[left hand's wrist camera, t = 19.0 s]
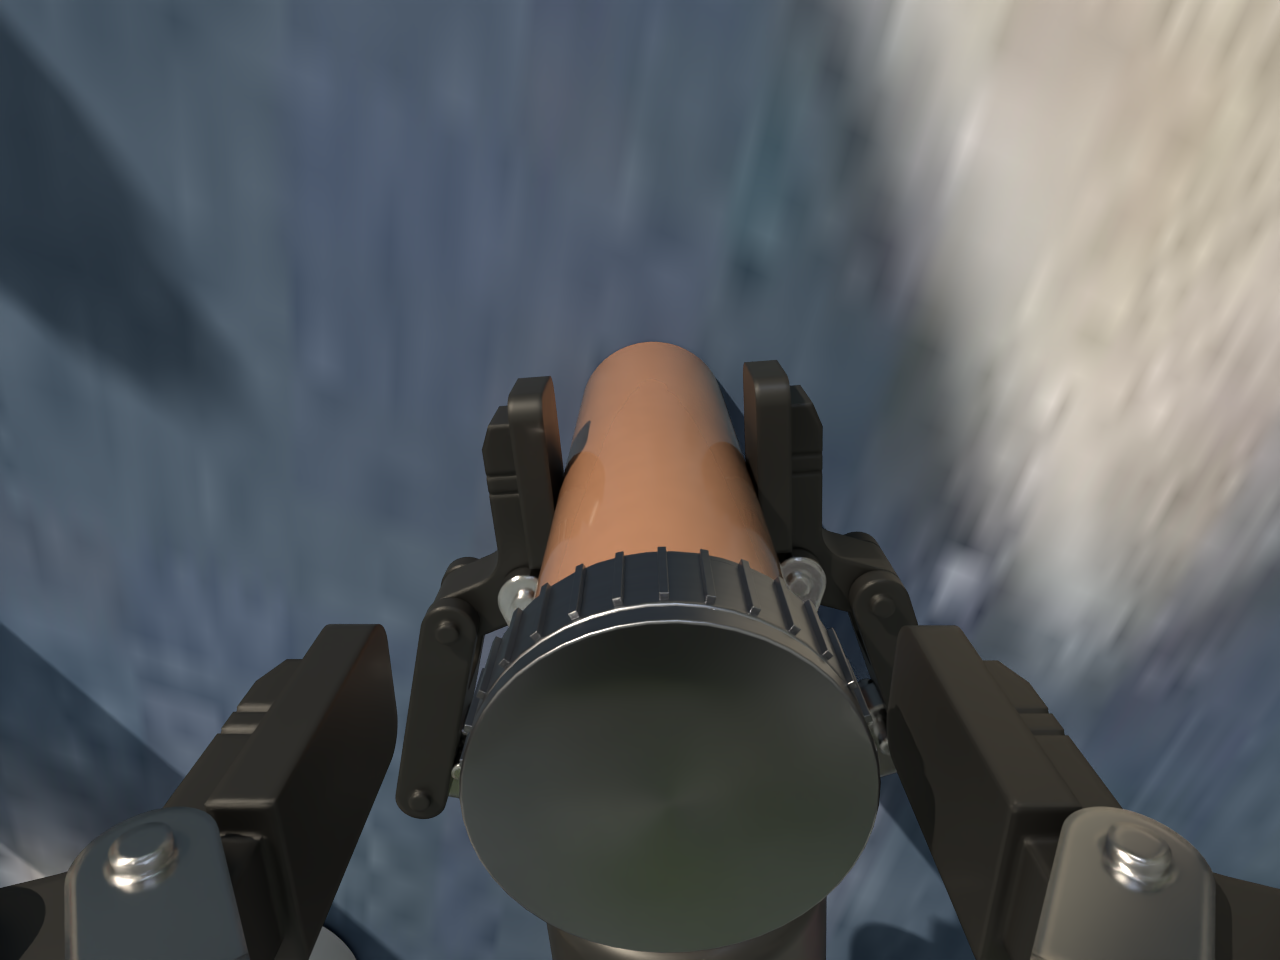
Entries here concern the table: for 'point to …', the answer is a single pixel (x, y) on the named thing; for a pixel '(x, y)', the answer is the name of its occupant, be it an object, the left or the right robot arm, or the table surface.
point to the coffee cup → (330, 947)
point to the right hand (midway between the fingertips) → (646, 381)
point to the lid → (668, 755)
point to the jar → (655, 469)
